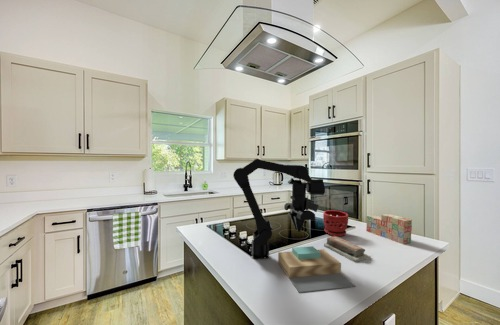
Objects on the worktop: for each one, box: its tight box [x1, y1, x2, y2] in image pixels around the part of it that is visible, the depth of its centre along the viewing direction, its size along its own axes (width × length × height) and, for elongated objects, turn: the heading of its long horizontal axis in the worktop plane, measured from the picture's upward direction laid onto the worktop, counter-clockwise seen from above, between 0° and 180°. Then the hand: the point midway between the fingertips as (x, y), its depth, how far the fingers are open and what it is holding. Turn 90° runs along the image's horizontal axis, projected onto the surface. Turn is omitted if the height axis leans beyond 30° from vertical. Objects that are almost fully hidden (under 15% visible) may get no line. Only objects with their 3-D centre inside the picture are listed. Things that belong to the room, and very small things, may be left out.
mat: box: [288, 272, 356, 294], centre depth 73 cm, size 20×8×1 cm, turn 101°
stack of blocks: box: [365, 213, 413, 245], centre depth 119 cm, size 21×6×12 cm, turn 23°
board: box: [277, 249, 342, 279], centre depth 83 cm, size 20×12×4 cm, turn 101°
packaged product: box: [323, 236, 372, 263], centre depth 98 cm, size 18×5×10 cm
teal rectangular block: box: [291, 246, 320, 260], centre depth 85 cm, size 9×6×2 cm, turn 101°
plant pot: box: [322, 209, 349, 237], centre depth 121 cm, size 13×13×12 cm
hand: (297, 230), depth 92 cm, fingers open, 2 cm apart
